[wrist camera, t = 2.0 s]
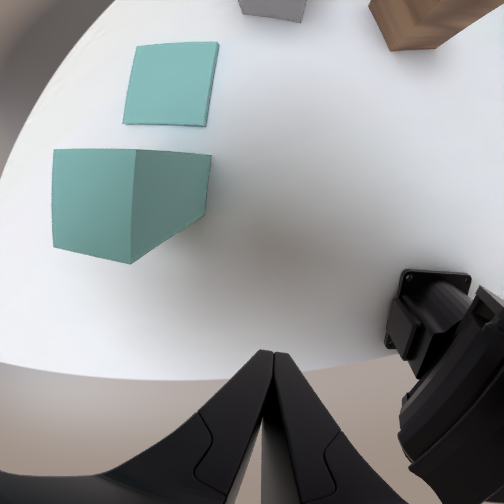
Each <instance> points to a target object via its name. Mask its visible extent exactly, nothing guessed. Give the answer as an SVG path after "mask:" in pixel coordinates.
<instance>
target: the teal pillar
mask: <svg viewBox="0 0 504 504" xmlns="http://www.w3.org/2000/svg"><path fill="white" fill-rule="evenodd" d="M210 160H211V155H204V154H194V153H183V152H170V151H156V150H139V149H54V153H53V168H52V233H53V247H55V248H59V249H64V250H68V251H72V252H77V253H81V254H85V255H90V256H94V257H99V258H103V259H108V260H113V261H117V262H122V263H127V264H132V263H134V262H135V261H136V260H138V259H139V258H141V257H142V256H144V255H145V254H146V253H148V252H149V251H151V250H152V249H154V248H155V247H157V246H158V245H160V244H161V243H163V242H164V241H166V240H167V239H169V238H170V237H172V236H173V235H175V234H176V233H178V232H179V231H181V230H182V229H184V228H185V227H187V226H188V225H190V224H191V223H193V222H194V221H196V220H198V219H199V218H201V217H202V216H204V213H205V204H206V194H207V185H208V177H209V168H210Z"/></svg>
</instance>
